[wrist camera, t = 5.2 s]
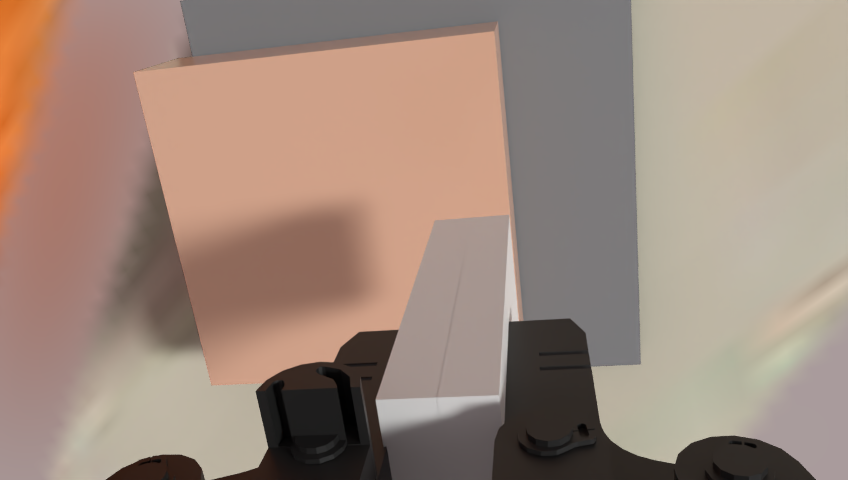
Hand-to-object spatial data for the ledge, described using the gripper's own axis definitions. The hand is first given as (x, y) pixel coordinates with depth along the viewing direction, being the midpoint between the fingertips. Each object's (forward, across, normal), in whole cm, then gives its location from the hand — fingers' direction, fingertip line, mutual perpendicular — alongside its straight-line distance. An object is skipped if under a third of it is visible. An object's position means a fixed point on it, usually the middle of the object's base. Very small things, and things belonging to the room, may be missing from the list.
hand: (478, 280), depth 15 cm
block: (+5, +1, 0) cm, 5 cm away
